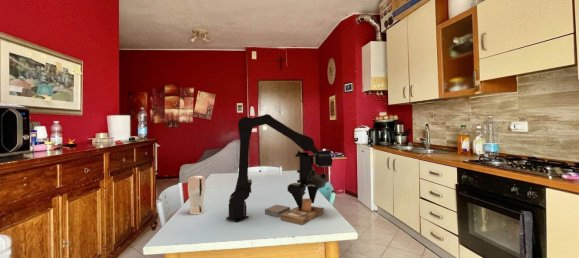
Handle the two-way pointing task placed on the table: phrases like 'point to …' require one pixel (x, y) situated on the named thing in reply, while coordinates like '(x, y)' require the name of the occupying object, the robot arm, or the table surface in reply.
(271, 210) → the tab
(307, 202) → the peg
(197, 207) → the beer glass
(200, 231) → the table surface
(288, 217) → the hole plate
